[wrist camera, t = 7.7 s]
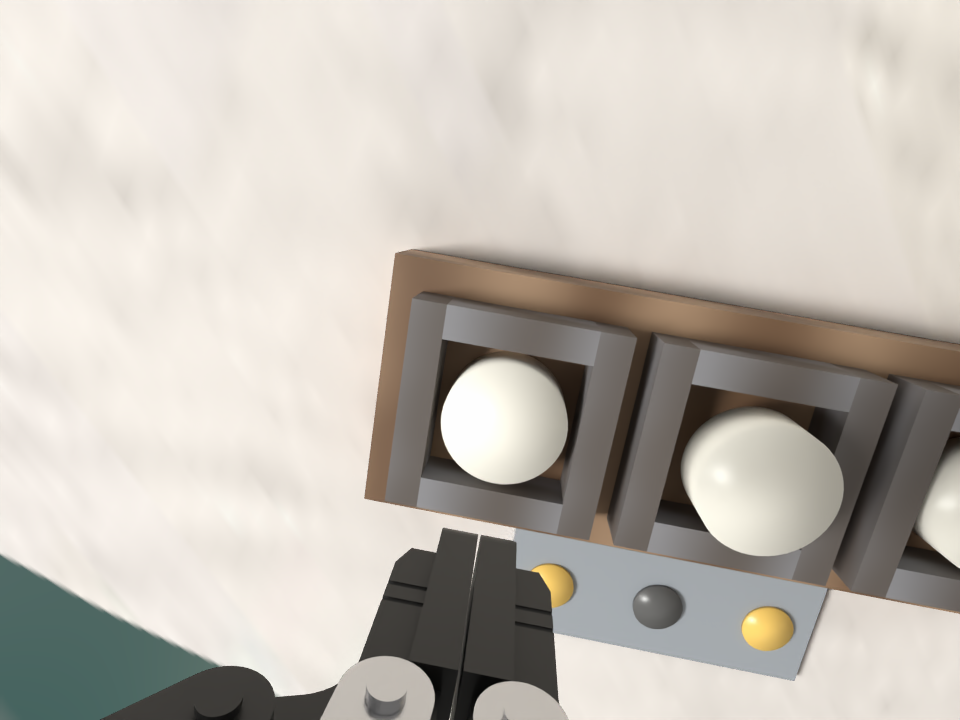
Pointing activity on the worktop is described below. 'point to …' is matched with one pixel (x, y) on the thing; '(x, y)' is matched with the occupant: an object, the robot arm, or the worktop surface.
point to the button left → (505, 418)
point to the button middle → (761, 481)
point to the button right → (943, 505)
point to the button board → (668, 417)
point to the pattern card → (673, 604)
